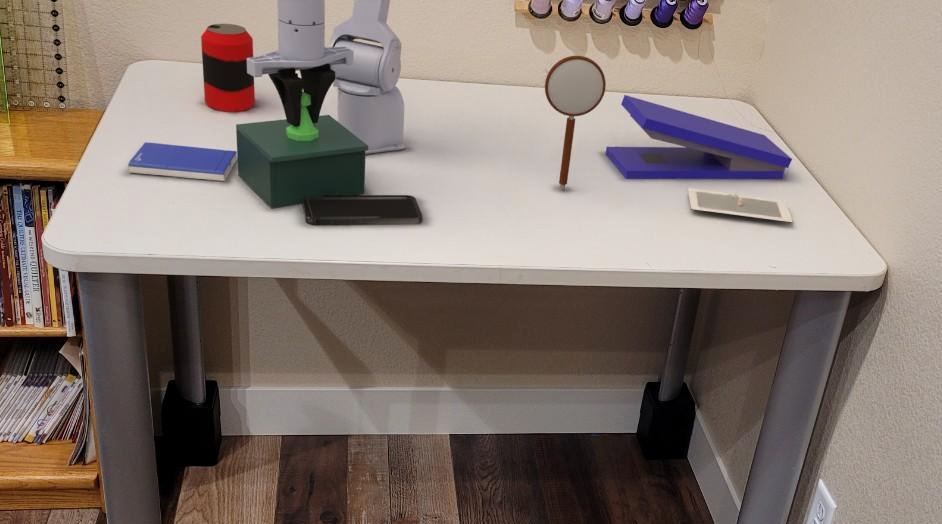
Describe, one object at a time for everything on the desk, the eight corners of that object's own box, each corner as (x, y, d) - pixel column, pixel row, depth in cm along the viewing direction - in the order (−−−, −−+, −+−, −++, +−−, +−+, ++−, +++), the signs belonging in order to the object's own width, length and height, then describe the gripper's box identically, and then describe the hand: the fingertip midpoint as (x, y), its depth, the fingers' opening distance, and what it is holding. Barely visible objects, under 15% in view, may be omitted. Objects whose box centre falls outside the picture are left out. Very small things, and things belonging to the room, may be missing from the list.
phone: (302, 195, 140) (414, 194, 144) (302, 203, 140) (413, 202, 145) (306, 220, 133) (423, 219, 138) (306, 228, 134) (423, 226, 138)
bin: (364, 194, 144) (365, 148, 141) (271, 208, 136) (269, 160, 133) (328, 163, 151) (329, 119, 148) (238, 175, 144) (236, 129, 140)
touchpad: (790, 228, 153) (794, 215, 152) (689, 215, 152) (692, 202, 151) (783, 207, 160) (786, 194, 158) (686, 194, 159) (689, 181, 158)
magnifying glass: (589, 188, 156) (608, 56, 146) (591, 193, 155) (610, 60, 144) (532, 185, 154) (547, 51, 144) (534, 190, 153) (549, 55, 143)
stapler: (604, 152, 170) (612, 94, 165) (757, 153, 179) (770, 98, 174) (627, 181, 161) (637, 119, 156) (788, 180, 170) (802, 122, 165)
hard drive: (127, 162, 139) (223, 171, 141) (145, 140, 146) (236, 149, 148) (128, 173, 140) (224, 182, 142) (146, 151, 147) (237, 159, 148)
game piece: (279, 132, 140) (278, 88, 137) (308, 127, 142) (307, 84, 139) (296, 143, 137) (296, 99, 134) (325, 138, 140) (325, 94, 137)
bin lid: (368, 150, 140) (368, 145, 140) (272, 162, 133) (272, 157, 132) (329, 119, 148) (329, 114, 148) (236, 129, 140) (235, 124, 140)
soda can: (217, 93, 170) (213, 19, 164) (262, 101, 170) (260, 27, 164) (196, 107, 164) (191, 30, 158) (243, 115, 163) (240, 38, 157)
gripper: (332, 7, 139) (332, 105, 146) (232, 16, 130) (236, 120, 136) (363, 21, 135) (361, 121, 142) (262, 31, 126) (265, 138, 132)
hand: (302, 122), depth 139 cm, fingers closed on game piece, 2 cm apart
